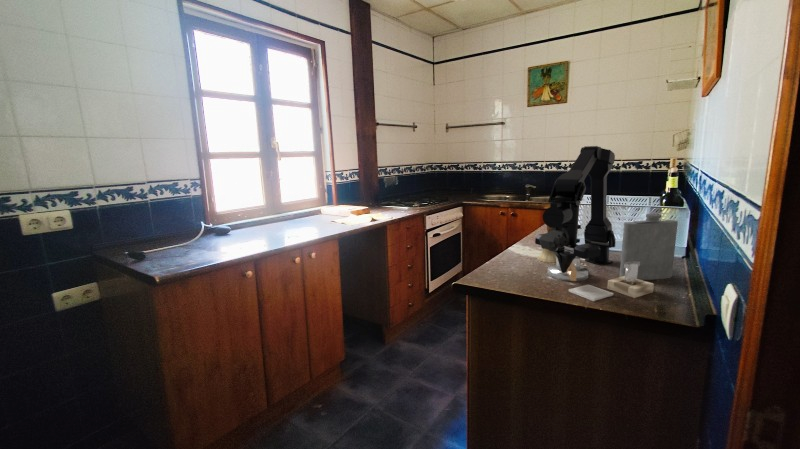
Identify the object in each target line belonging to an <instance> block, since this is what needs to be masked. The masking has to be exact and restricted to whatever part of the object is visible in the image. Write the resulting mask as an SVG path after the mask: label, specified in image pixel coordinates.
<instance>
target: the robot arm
mask: <svg viewBox="0 0 800 449" xmlns="http://www.w3.org/2000/svg"><path fill="white" fill-rule="evenodd" d="M615 156H616V154H615V153H614V152H613V151H612V150H611V149H606V148H603V147H601V146H598V145H592V146H589V145H587V146H583V147H581V149H580V152H579V155H578V156H577V158H576V160H575V161H574V163H573V164H572V166H571V167H570V169H569V170H568V171H567V172H564V173H562V174H561V175H559V177H557V178H556V179H555V181H554V183H553V185H552V188H551V192H550V195H549V197H548V201H547V202H548V203H549V206H550V207H547V208H546V209H545V210H544V211H543V213H542V220H543V221H542V222H543V223H544V225H546V227H547V226H549V227H551V228H552V231H550V232H545V233H540V234H537V235H536V236H535V238H534V239H535V240H534V241H535V242H534V243H535V245H539V246H540V247H541V249H542V250H543V249H544V248H545V249H548V250H549V251H552V252H553V253H554V254H556V256H557V259H558V262H559V265H560V268H561V271H562V273H565V272H566V271H567V269H568V268H569V266H570V264H571V263H572V261H573V260H574V258H575V257H576V256H577V257H580V259H584V261H585V262H589V263H592V264H595V265H600V266H602V265H608V264H611V263H613V260H611V259H610V249H612V248H615V247H616V244H617V243H616V237H615V234H614V230H612V229H613V227H612V226H613V225H612V223H611V222H610V220H609V218H608V217H607V202H608V201H607V199H608V198H607V196H608V194H607V190H608V187H607V186H608V185H607V183H608V181H607V180H608V174H609V173H610V172H611V170H612V169H613V166H614V163H615V160H616V157H615ZM588 176H589V178H590V220H589V221H588V222H587V223H586V225H585V229H584V231H583V235H584V236H583V237H584V243H582V244H580V243H581V239H580V238H578V230H581V229H582V225H580V224H579V216H580V215H579V214H580V204H581V202H582V200H583V198H584V195H585V193H586V190H587V186H586V183H585V180H586V178H587V177H588Z"/></svg>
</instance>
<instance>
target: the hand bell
mask: <svg viewBox="0 0 800 449" xmlns="http://www.w3.org/2000/svg"><path fill="white" fill-rule="evenodd" d="M546 231H547V232H550V231H552V228H551V227H549V226H547V225H546ZM547 232H546V233H547ZM537 260H538V261H540V262H543V263H547V264H556V254H554V253H553V252H552V251H549V250H548V249H545V248H544V249H543V248H542V251H541V254H540V255H539V256H537Z"/></svg>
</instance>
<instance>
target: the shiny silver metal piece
mask: <svg viewBox="0 0 800 449" xmlns="http://www.w3.org/2000/svg"><path fill="white" fill-rule="evenodd" d="M638 266H640V262H638V261H633V262H626V263H625V264H624V268H625V279H624V283H626V284H629V285H632V286H634V285H637V274H638Z"/></svg>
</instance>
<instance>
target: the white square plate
mask: <svg viewBox="0 0 800 449" xmlns="http://www.w3.org/2000/svg"><path fill="white" fill-rule="evenodd" d="M568 292H569V293H571V294H574V295H577V296H580V297H582V298H584V299H587V300H589V301H591V302H596V301H598V300H602V299H605V298H608V297H609V298H610V297H612V296H614V292H611V291H608V290H605V289H603V288H600V287H596V286H594V285H590V284H589V283H588V284H584V285H581V286H576V287H574V288H568Z"/></svg>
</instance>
